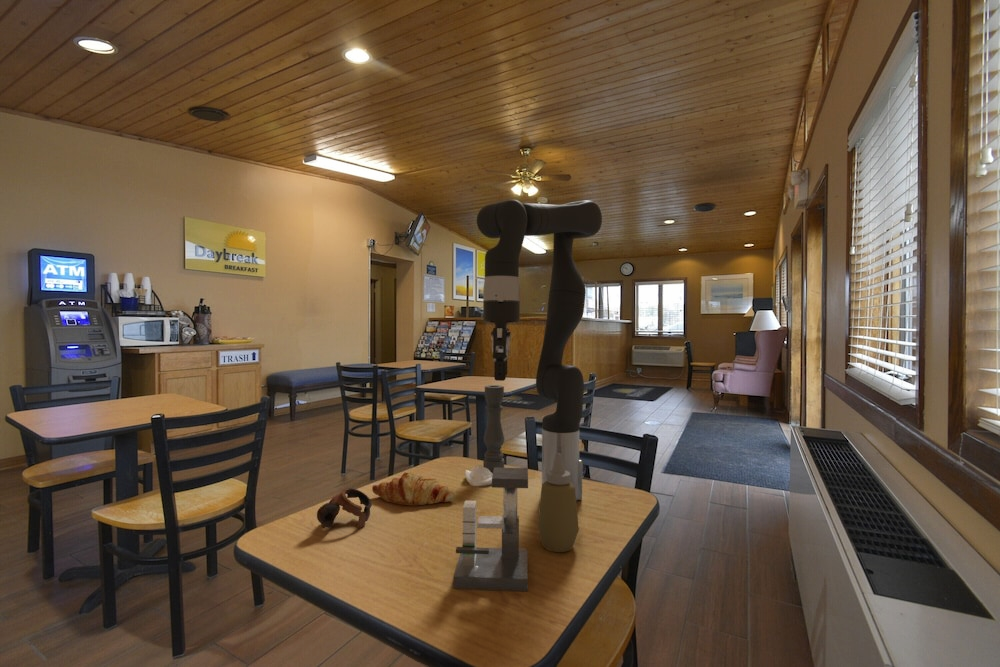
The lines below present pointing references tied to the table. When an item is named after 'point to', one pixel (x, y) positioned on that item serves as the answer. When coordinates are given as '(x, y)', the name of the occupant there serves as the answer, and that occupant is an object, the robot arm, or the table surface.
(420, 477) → the croissant
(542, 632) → the table surface
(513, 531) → the dark grey blocky piece
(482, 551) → the peak pointer
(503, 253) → the robot arm
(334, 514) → the brown headphones
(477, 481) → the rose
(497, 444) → the candle holder
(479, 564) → the frame
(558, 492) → the squeeze bottle
